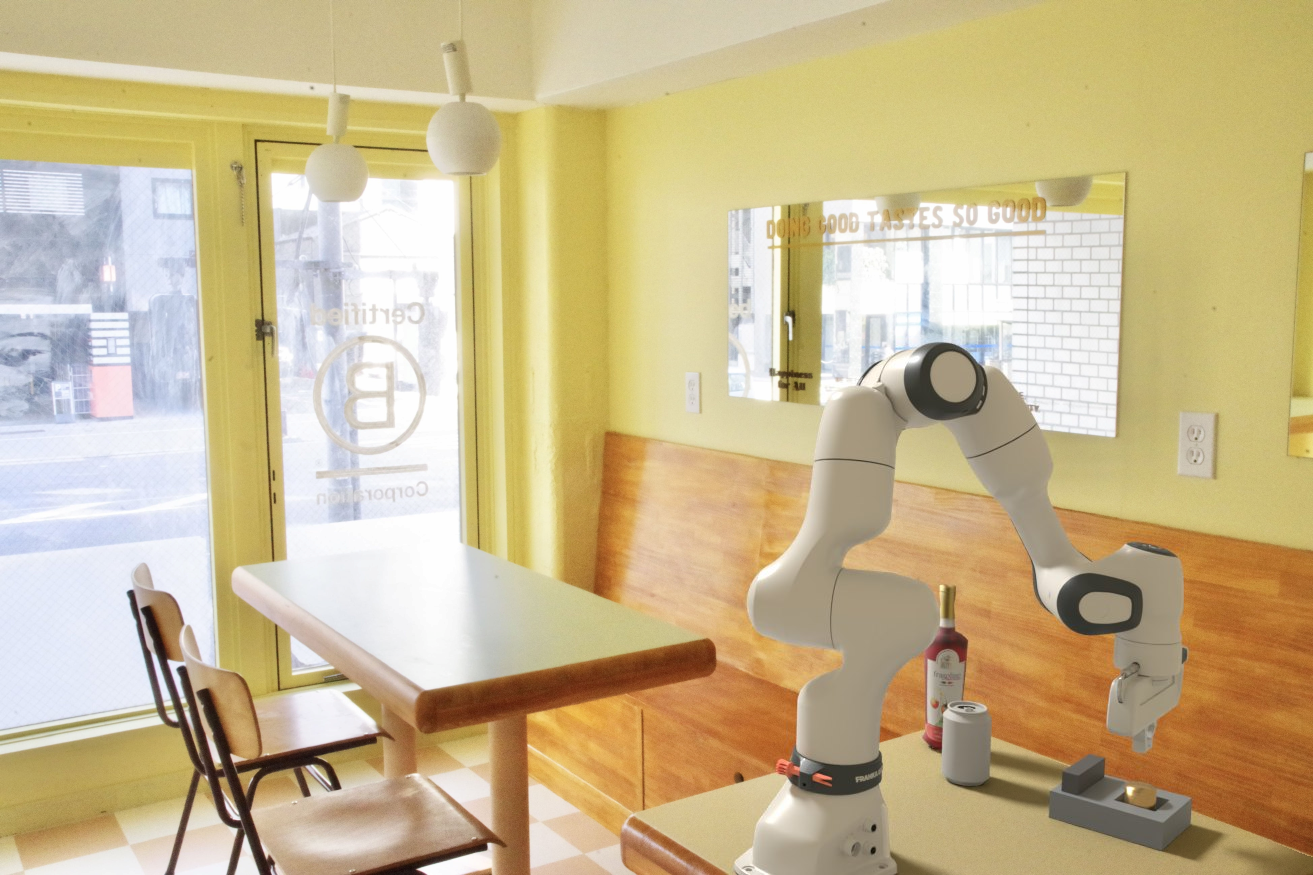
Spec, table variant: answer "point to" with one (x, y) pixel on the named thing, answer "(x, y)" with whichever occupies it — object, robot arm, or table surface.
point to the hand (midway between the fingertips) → (1142, 750)
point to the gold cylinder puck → (1140, 795)
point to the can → (966, 743)
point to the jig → (1116, 806)
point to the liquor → (943, 669)
